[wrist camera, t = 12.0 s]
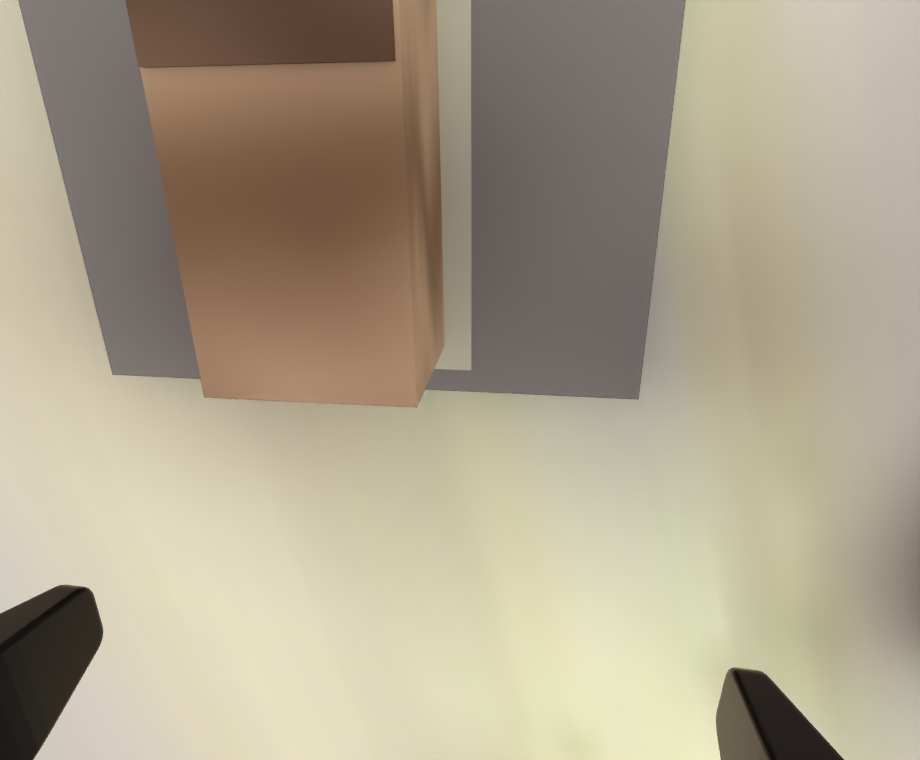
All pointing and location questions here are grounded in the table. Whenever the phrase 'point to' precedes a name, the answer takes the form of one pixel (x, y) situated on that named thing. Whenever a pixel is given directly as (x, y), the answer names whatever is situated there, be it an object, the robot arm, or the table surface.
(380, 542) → the table surface
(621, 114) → the mat
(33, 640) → the robot arm
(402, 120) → the copper block with band
